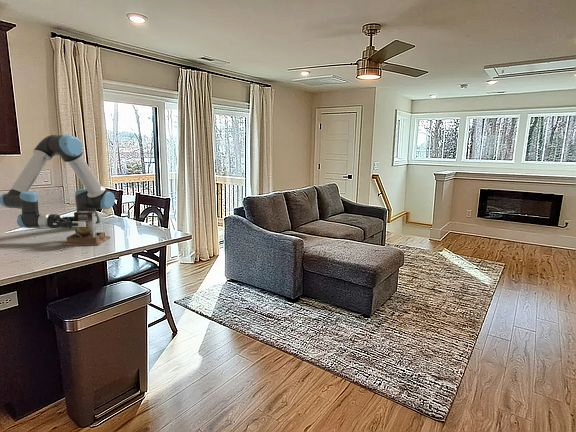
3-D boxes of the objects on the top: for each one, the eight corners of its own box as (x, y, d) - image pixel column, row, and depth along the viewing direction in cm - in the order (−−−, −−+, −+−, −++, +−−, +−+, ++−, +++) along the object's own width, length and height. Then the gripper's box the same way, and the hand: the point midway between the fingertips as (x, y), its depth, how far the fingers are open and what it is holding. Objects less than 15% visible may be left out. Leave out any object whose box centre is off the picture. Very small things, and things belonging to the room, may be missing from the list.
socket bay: (77, 237, 212) (77, 230, 211) (110, 238, 213) (109, 231, 212) (63, 245, 196) (62, 237, 195) (98, 245, 198) (97, 238, 197)
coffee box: (75, 242, 199) (73, 212, 196) (79, 239, 205) (77, 210, 202) (94, 241, 201) (91, 212, 198) (97, 238, 207) (95, 210, 204)
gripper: (62, 223, 213) (101, 223, 215) (37, 233, 189) (80, 233, 190) (61, 210, 212) (100, 210, 213) (35, 219, 187) (79, 219, 189)
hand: (90, 221), depth 202 cm, fingers open, 13 cm apart
